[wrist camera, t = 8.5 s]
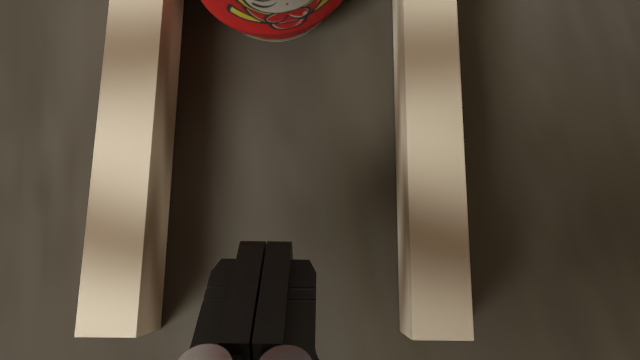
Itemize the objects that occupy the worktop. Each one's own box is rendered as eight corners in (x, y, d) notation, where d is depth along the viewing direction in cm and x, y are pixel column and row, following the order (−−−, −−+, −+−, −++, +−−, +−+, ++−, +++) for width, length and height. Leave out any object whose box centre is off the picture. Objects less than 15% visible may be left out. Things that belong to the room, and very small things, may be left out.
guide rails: (452, 331, 18) (473, 340, 16) (107, 328, 18) (74, 337, 16) (434, -105, 22) (448, -154, 19) (147, -108, 22) (125, -156, 19)
